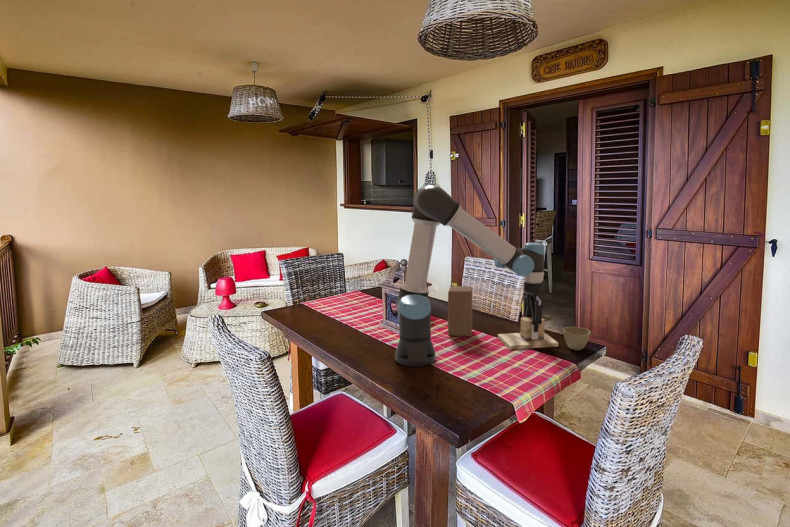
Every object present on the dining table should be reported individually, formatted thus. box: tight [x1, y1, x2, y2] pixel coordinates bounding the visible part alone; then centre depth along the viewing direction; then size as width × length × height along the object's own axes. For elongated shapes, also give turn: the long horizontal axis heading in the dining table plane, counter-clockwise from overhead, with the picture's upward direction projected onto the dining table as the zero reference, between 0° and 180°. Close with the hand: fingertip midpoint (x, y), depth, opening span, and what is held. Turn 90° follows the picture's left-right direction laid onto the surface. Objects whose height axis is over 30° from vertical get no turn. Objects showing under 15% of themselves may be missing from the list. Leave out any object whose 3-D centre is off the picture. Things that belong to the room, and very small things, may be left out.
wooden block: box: [447, 285, 473, 337], centre depth 193 cm, size 10×10×20 cm
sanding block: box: [519, 316, 546, 340], centre depth 181 cm, size 8×5×8 cm, turn 96°
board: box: [497, 332, 559, 350], centre depth 182 cm, size 20×14×2 cm
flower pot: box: [562, 326, 592, 351], centre depth 174 cm, size 10×10×7 cm
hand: (531, 336), depth 182 cm, fingers closed on sanding block, 5 cm apart
